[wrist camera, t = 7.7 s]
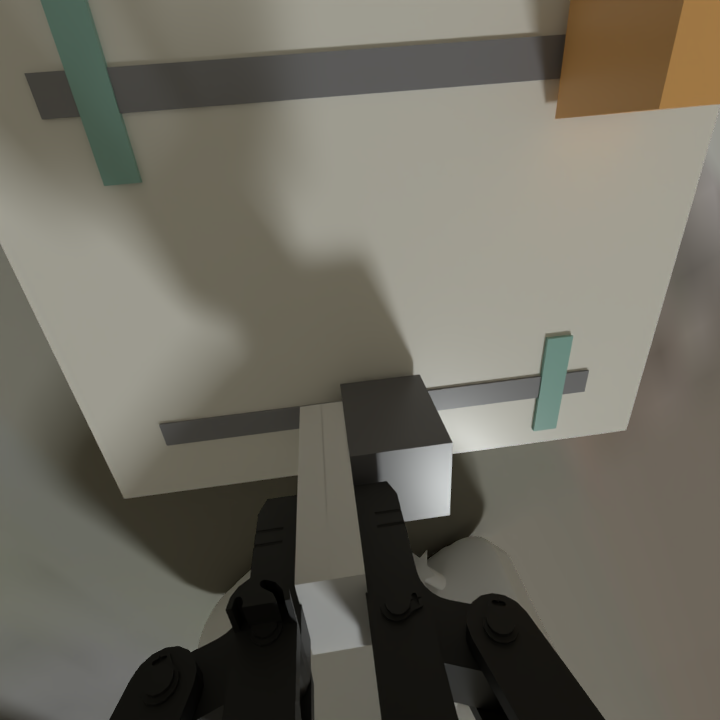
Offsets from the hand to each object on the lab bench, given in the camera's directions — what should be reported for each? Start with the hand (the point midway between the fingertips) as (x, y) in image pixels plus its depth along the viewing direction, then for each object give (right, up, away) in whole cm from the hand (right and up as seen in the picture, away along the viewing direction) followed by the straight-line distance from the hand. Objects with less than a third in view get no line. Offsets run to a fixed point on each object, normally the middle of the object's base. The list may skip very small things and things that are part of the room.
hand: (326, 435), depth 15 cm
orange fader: (+8, +11, -4) cm, 14 cm away
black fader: (+2, +1, +1) cm, 2 cm away
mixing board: (+1, +7, +1) cm, 7 cm away
